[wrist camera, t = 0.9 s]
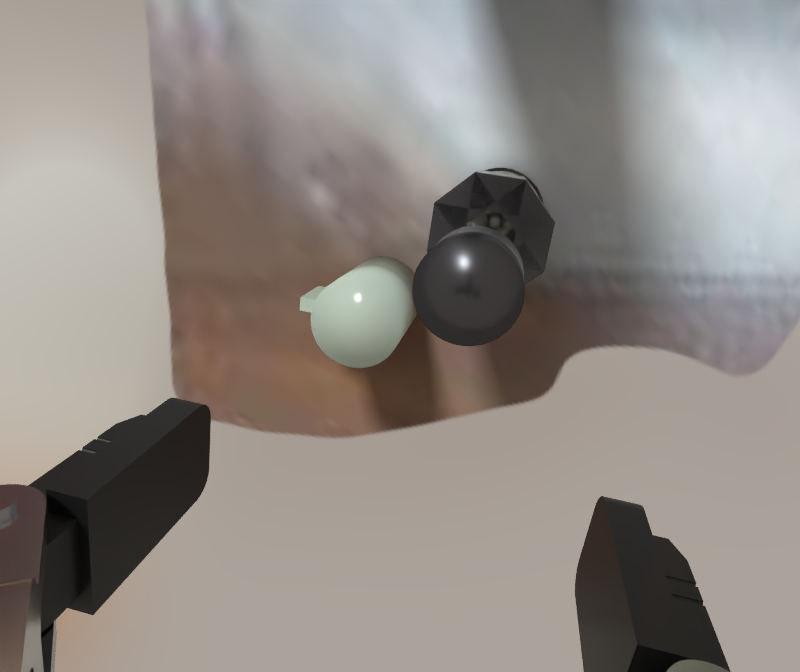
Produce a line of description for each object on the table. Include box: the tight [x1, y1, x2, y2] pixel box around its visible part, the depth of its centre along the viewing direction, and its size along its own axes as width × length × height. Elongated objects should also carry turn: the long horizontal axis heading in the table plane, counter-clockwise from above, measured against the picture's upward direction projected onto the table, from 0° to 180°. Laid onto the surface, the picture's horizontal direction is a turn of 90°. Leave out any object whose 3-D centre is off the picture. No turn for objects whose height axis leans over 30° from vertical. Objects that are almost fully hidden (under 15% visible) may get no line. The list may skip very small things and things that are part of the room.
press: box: [427, 168, 555, 284], centre depth 39 cm, size 9×7×14 cm
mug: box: [300, 257, 417, 368], centre depth 45 cm, size 6×8×9 cm
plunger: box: [412, 226, 524, 346], centre depth 25 cm, size 4×4×14 cm
